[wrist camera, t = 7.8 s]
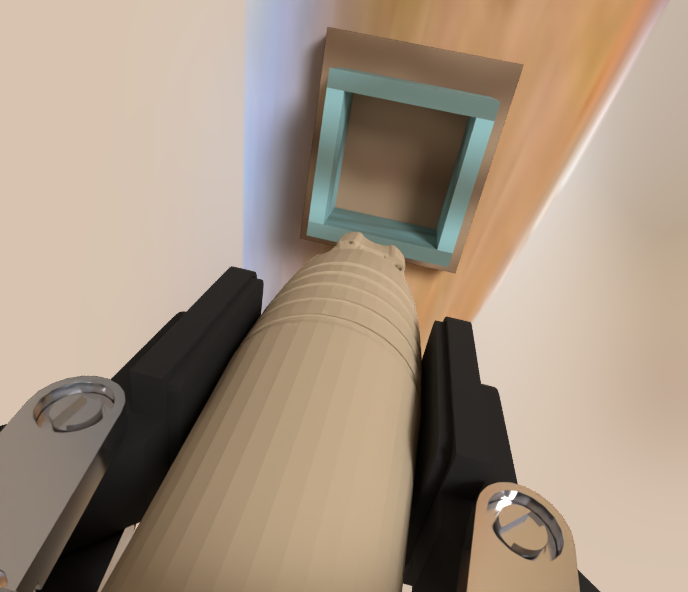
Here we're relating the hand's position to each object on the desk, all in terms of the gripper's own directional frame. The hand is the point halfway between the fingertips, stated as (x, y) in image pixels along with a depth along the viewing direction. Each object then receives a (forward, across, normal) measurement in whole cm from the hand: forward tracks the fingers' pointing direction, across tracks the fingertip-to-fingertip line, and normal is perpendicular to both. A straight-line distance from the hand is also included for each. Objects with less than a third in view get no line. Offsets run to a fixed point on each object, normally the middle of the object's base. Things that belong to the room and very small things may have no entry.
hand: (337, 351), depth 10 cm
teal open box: (+25, 0, 0) cm, 25 cm away
